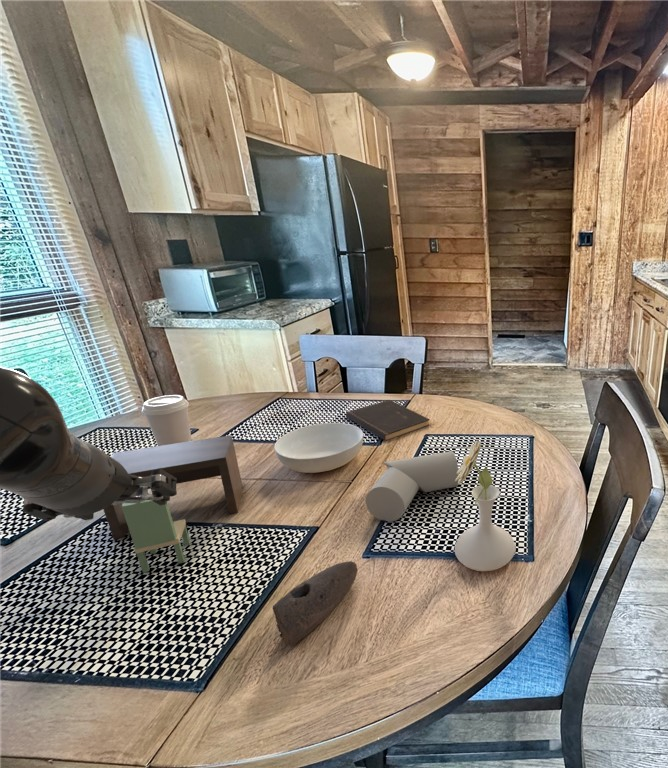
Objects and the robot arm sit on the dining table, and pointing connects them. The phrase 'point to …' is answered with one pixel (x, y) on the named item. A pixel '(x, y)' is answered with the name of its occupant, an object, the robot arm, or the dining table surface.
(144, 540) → the chair
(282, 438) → the serving bowl
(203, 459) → the desk
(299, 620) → the perforated stone tool
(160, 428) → the coffee cup
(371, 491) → the l-shaped cylinder
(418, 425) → the hardcover book
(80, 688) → the dining table surface
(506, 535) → the flower in vase
